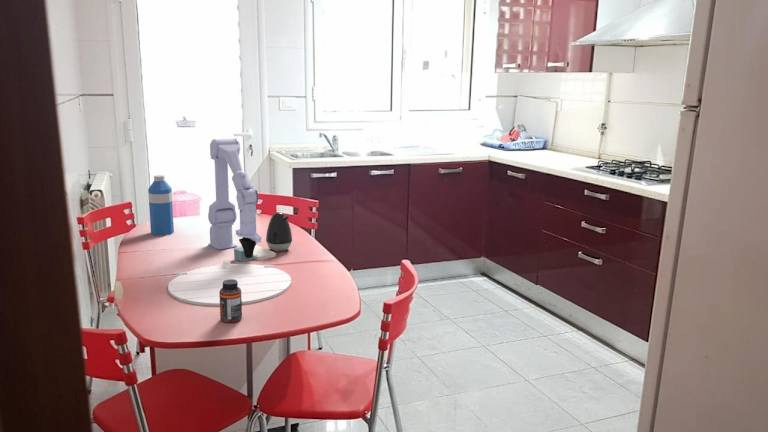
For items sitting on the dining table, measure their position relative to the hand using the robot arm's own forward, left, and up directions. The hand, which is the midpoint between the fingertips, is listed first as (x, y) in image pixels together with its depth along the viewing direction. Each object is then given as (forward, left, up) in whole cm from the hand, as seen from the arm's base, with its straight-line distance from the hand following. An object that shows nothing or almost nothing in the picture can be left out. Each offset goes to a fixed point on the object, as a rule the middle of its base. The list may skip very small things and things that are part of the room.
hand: (248, 257), depth 222 cm
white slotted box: (-7, +7, -2) cm, 11 cm away
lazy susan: (+17, -17, -2) cm, 24 cm away
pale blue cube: (-4, 0, -2) cm, 4 cm away
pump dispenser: (-7, +18, -2) cm, 19 cm away
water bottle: (-60, -7, -2) cm, 60 cm away
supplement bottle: (+44, -32, -2) cm, 55 cm away
